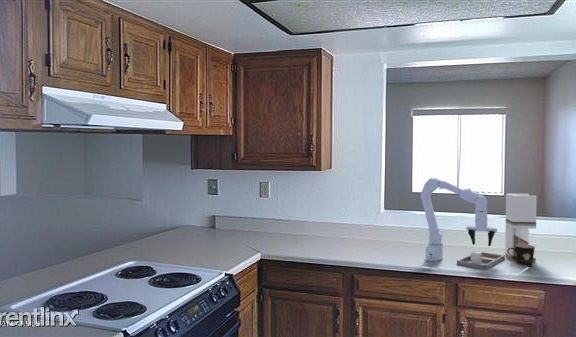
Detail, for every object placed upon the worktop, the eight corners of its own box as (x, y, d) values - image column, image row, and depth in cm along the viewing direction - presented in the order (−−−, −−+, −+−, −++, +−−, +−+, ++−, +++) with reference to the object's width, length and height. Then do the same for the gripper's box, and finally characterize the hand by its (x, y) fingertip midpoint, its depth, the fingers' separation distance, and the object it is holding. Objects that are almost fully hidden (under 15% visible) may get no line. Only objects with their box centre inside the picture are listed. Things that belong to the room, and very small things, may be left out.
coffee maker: (512, 261, 228) (513, 195, 227) (505, 256, 239) (506, 193, 237) (535, 262, 226) (536, 195, 225) (527, 257, 237) (528, 193, 236)
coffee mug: (536, 265, 220) (536, 245, 220) (532, 268, 214) (532, 248, 214) (511, 261, 228) (511, 242, 228) (506, 264, 222) (506, 245, 221)
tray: (485, 271, 209) (485, 265, 209) (456, 266, 219) (456, 260, 219) (504, 261, 229) (504, 255, 229) (477, 256, 239) (477, 251, 239)
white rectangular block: (478, 265, 216) (479, 253, 216) (470, 264, 219) (470, 252, 219) (481, 264, 219) (481, 252, 219) (473, 262, 222) (473, 251, 222)
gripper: (498, 218, 223) (498, 245, 223) (468, 217, 232) (469, 242, 232) (495, 220, 217) (495, 247, 218) (464, 218, 226) (465, 244, 226)
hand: (481, 245), depth 224 cm, fingers open, 7 cm apart
